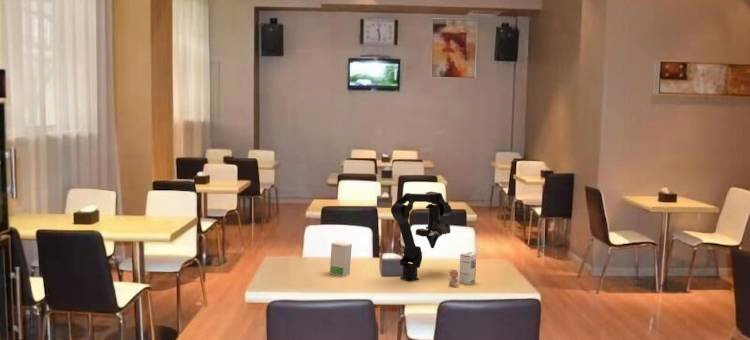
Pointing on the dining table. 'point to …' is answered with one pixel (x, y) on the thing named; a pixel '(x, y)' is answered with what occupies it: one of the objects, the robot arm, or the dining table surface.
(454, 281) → the beech block
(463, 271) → the syrup box
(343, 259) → the skincare box
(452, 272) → the terracotta block
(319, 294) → the dining table surface
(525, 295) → the dining table surface
